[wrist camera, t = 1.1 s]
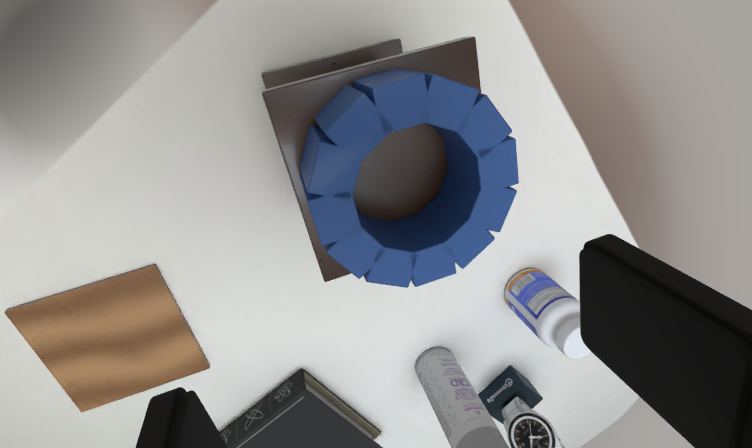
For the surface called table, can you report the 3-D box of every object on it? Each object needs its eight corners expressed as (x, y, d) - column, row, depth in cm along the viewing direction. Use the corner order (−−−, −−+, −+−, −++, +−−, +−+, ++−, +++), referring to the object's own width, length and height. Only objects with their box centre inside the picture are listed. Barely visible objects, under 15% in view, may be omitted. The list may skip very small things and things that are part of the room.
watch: (501, 358, 51) (558, 433, 41) (535, 386, 54) (596, 461, 44) (468, 389, 51) (516, 470, 42) (504, 414, 55) (556, 495, 45)
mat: (6, 309, 34) (3, 312, 34) (155, 263, 36) (154, 265, 35) (83, 409, 40) (81, 412, 39) (210, 365, 41) (209, 368, 41)
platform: (261, 73, 32) (261, 92, 20) (395, 38, 34) (476, 36, 21) (303, 201, 37) (324, 282, 24) (419, 166, 38) (495, 226, 26)
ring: (275, 100, 20) (278, 113, 16) (467, 49, 21) (509, 50, 18) (330, 273, 24) (342, 312, 21) (487, 221, 26) (524, 250, 22)
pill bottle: (542, 304, 49) (602, 360, 40) (500, 311, 48) (553, 371, 39) (549, 263, 47) (614, 313, 38) (505, 270, 46) (562, 323, 37)
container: (449, 340, 48) (523, 457, 34) (455, 370, 50) (527, 491, 36) (411, 355, 47) (470, 479, 34) (419, 384, 49) (478, 512, 36)
